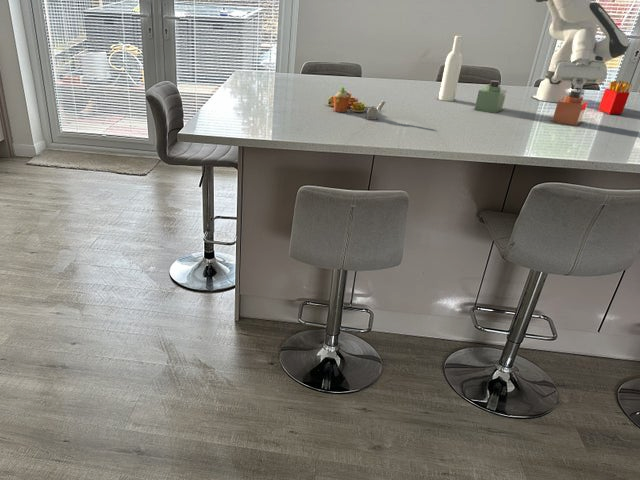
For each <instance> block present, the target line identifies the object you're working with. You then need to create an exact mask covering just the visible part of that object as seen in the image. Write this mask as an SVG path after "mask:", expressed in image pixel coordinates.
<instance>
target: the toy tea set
mask: <svg viewBox="0 0 640 480" xmlns="http://www.w3.org/2000/svg"><path fill="white" fill-rule="evenodd" d="M326 105H327V106H330V107H333V110H334V112H337V113H345V112H347V110H348V109H350V111H352V112H354V113H363V112H365V111H366V109H367V105H365V103H364V102H363V101H360V102H359V99H358V98H357V97H352V93H351V92H348V91H347V90H345V87H341V89H340V90H338V91H337V92H336V94H334V95H333V96H329V97H328V99H327V102H326Z"/></svg>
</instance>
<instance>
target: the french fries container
mask: <svg viewBox="0 0 640 480" xmlns="http://www.w3.org/2000/svg"><path fill="white" fill-rule="evenodd" d="M632 85H633V83H629V82H626V81H622V80H619V81H618V80H614V81H613V80H612V81H610V82H609V87H608V88H604V92H603V94H602V97H601V100H600V103H599V106H598V109H597V110H598V111H600V112H602V113H605V114H608V115H622V113H623V112H624V110H625V107H626V105H627V102H628V99H629V96H630V94H631V93H630V89H631V87H632Z"/></svg>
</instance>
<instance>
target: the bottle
mask: <svg viewBox="0 0 640 480" xmlns="http://www.w3.org/2000/svg"><path fill="white" fill-rule="evenodd" d="M463 38H464V36H463V35H455V36H454V39H453V40H454V41H453V46H452V49H451V50H452V51H450V52H449V53H448V54H447V57H446V59H445V63H444V69H443V74H442V79H441V83H440V84H441V85H440V90H439V93H438V100H439V101H444V102H453V101H454V100H455V98H456V93H457V89H458V83H459V78H460V74H461V69H462V64H463V54H462V53H461V48H462V43H463V40H464V39H463Z"/></svg>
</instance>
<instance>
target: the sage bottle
mask: <svg viewBox="0 0 640 480" xmlns="http://www.w3.org/2000/svg"><path fill="white" fill-rule="evenodd" d="M489 85H490V84H486V85H485V87H484V88H481V89H478V93H477V97H476V101H475V106H474V108H473V109H474V111H479V112H486V113H491V114H496V113H499V112H500V111H502V110H503V107H504V103H505V99H506V96H507V89H502V88H503V86H502V85H499V86H498V87H492V86H489Z"/></svg>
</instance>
